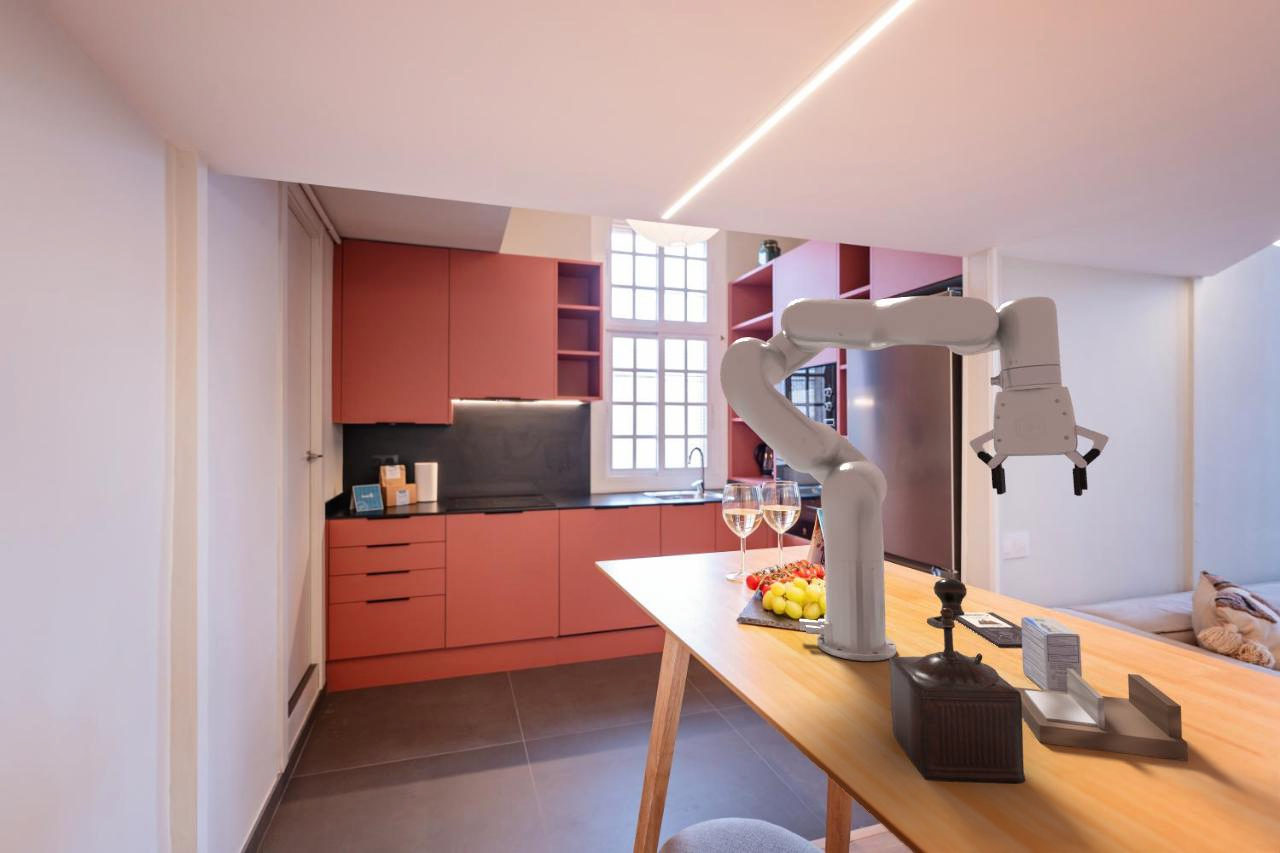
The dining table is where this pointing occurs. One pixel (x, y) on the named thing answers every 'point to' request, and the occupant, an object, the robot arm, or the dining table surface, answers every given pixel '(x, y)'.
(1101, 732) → the brown holder stand
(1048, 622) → the medicine box
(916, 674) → the brown coffee grinder
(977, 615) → the chocolate bar
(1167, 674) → the dining table surface
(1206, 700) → the dining table surface
